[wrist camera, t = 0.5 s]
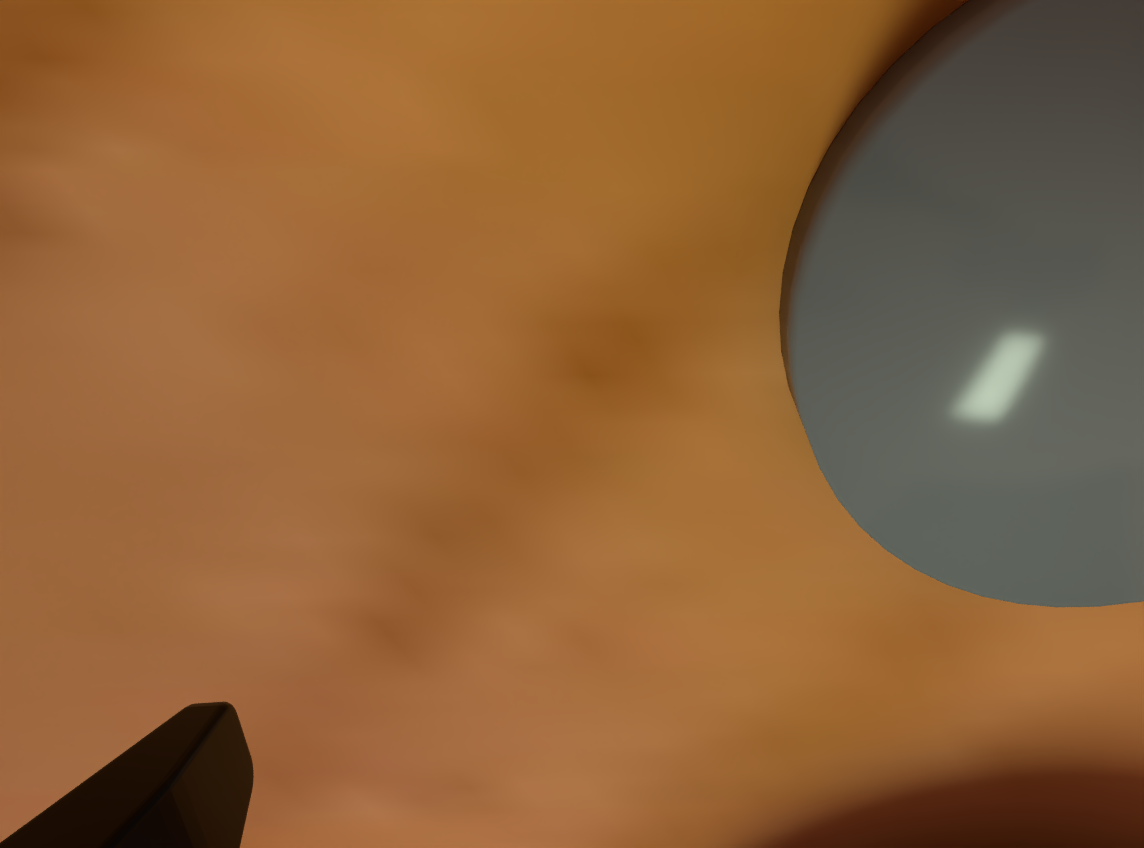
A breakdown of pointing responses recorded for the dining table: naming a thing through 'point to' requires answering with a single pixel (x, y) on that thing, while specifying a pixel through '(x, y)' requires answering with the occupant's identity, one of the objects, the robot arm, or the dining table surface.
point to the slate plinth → (986, 304)
